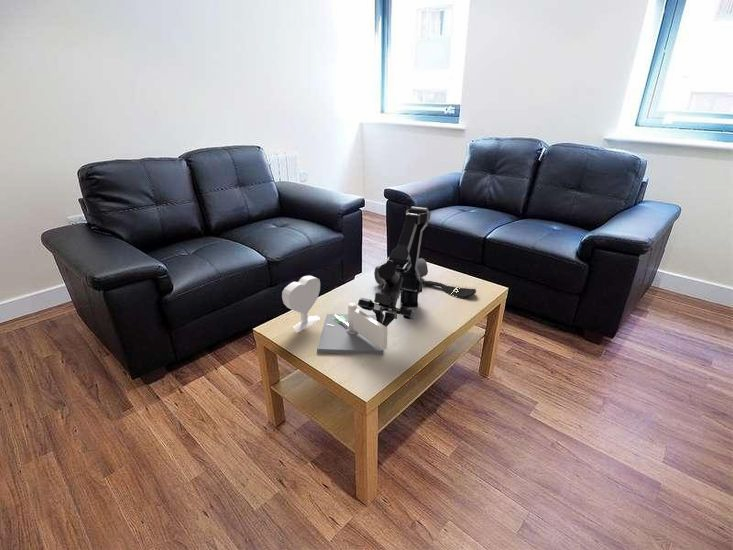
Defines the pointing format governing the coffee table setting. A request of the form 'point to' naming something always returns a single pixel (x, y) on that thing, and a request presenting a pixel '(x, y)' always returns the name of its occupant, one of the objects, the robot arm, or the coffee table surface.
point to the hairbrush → (462, 291)
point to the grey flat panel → (344, 338)
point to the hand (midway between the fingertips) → (379, 333)
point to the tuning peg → (365, 326)
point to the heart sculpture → (302, 299)
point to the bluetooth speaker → (421, 268)
